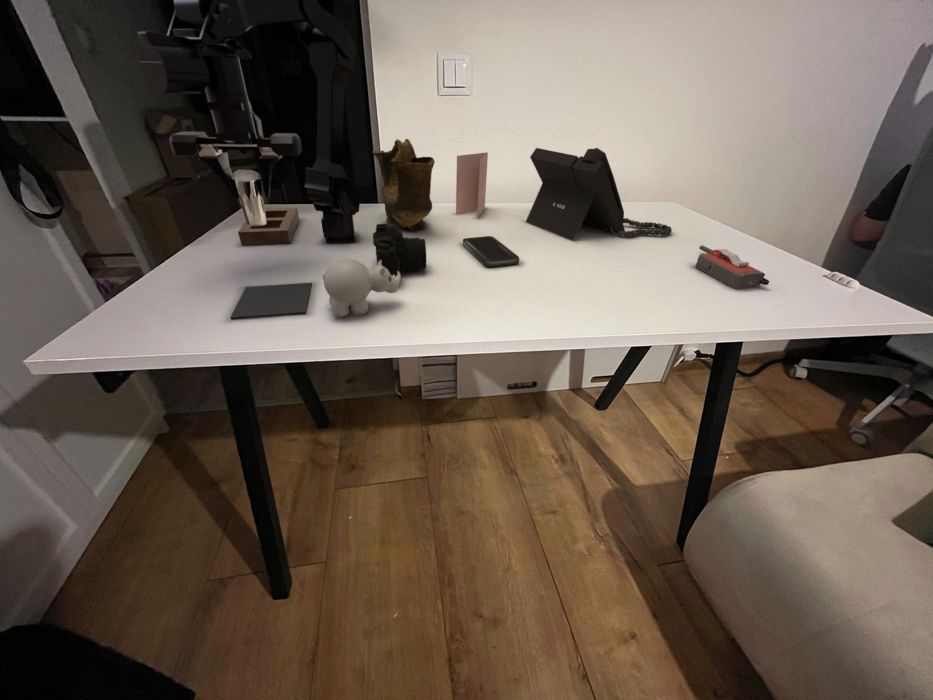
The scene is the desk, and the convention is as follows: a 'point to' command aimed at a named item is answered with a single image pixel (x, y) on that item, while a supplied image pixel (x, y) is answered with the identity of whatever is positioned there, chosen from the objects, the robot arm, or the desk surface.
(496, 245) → the phone
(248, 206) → the milkshake
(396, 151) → the pottery vessel
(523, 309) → the desk surface
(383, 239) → the film camera
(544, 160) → the office phone
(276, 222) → the rack
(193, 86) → the robot arm
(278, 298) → the mat
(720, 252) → the walkie-talkie
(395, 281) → the round bodied animal figurine
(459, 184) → the greeting card
